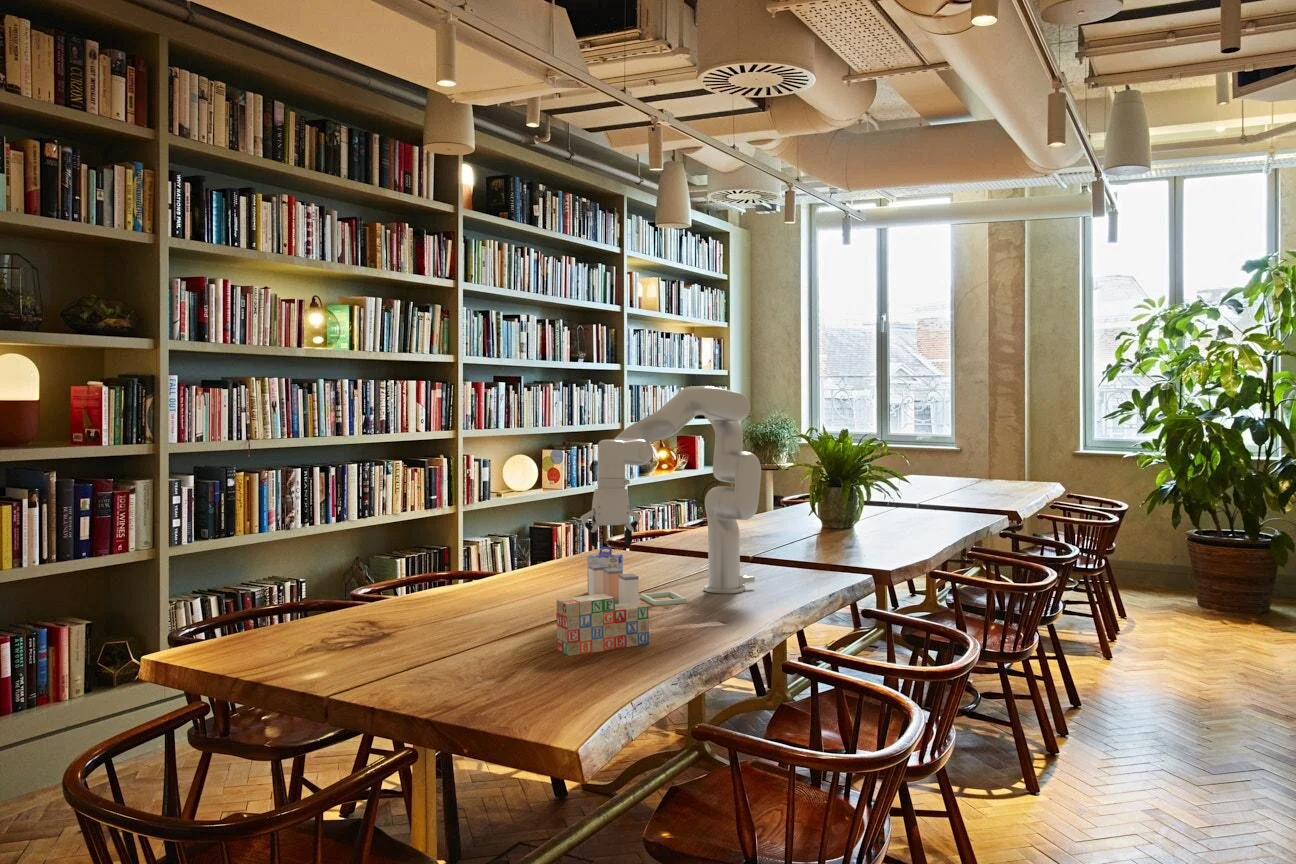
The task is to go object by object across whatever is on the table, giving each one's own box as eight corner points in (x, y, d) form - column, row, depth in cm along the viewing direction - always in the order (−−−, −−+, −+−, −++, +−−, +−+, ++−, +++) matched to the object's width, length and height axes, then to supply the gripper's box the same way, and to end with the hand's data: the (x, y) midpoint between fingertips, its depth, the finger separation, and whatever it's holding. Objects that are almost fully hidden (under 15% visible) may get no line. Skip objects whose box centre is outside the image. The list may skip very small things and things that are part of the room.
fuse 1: (602, 598, 293) (601, 564, 292) (607, 601, 288) (607, 566, 288) (588, 599, 291) (588, 565, 291) (594, 602, 286) (593, 567, 286)
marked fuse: (617, 602, 285) (616, 567, 284) (622, 605, 280) (622, 570, 280) (603, 603, 283) (603, 568, 283) (609, 606, 279) (608, 571, 278)
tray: (671, 599, 294) (671, 591, 294) (686, 607, 283) (686, 598, 283) (640, 602, 291) (640, 593, 291) (654, 610, 280) (654, 601, 280)
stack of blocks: (637, 639, 247) (636, 589, 246) (649, 644, 241) (649, 593, 241) (556, 650, 236) (555, 598, 236) (567, 656, 231) (566, 602, 230)
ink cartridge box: (623, 594, 303) (623, 546, 302) (619, 598, 297) (619, 549, 297) (591, 593, 305) (591, 545, 304) (587, 597, 299) (586, 548, 299)
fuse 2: (632, 609, 277) (632, 573, 276) (638, 612, 272) (638, 576, 272) (618, 610, 275) (618, 574, 275) (624, 613, 271) (624, 577, 270)
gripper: (636, 482, 287) (635, 542, 287) (577, 483, 281) (577, 545, 281) (645, 484, 280) (644, 546, 280) (585, 485, 274) (585, 548, 274)
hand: (610, 545), depth 281 cm, fingers open, 9 cm apart
